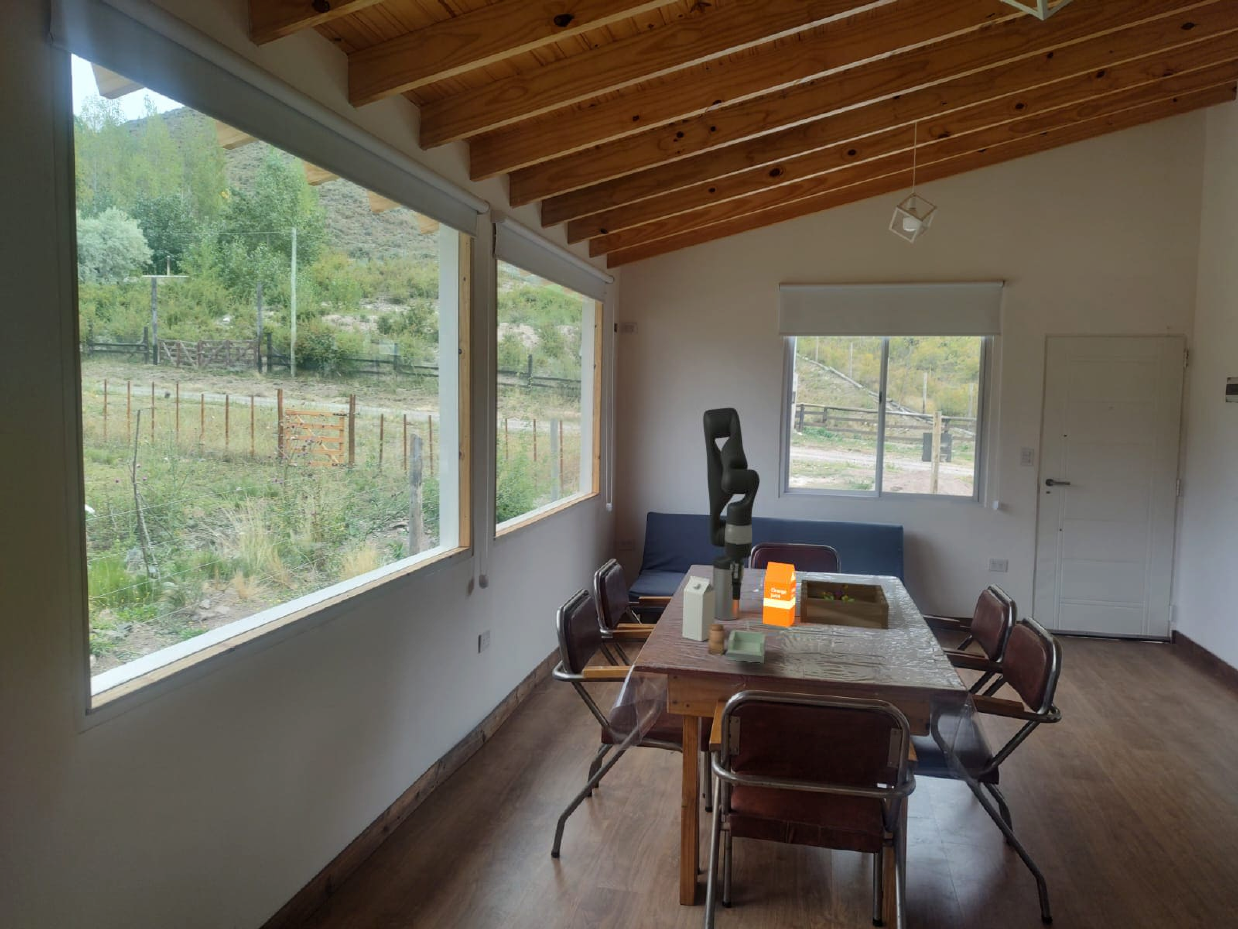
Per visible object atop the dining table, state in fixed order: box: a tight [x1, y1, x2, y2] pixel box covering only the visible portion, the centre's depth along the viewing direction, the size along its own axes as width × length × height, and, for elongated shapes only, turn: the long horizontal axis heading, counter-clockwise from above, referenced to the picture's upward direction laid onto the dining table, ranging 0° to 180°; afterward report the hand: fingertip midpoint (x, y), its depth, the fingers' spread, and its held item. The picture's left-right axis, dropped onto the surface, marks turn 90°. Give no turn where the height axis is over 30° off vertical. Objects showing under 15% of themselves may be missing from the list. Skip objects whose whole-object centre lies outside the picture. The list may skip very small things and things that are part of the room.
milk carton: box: [682, 575, 715, 642], centre depth 250 cm, size 7×7×19 cm
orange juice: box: [762, 561, 797, 628], centre depth 268 cm, size 8×9×20 cm
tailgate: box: [724, 649, 763, 660], centre depth 223 cm, size 1×10×11 cm
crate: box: [727, 629, 767, 664], centre depth 233 cm, size 10×10×6 cm
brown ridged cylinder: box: [707, 623, 726, 655], centre depth 236 cm, size 5×5×8 cm
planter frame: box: [799, 579, 890, 631], centre depth 279 cm, size 28×28×8 cm
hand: (736, 599), depth 228 cm, fingers closed
